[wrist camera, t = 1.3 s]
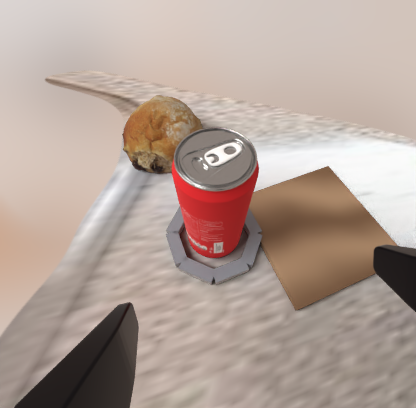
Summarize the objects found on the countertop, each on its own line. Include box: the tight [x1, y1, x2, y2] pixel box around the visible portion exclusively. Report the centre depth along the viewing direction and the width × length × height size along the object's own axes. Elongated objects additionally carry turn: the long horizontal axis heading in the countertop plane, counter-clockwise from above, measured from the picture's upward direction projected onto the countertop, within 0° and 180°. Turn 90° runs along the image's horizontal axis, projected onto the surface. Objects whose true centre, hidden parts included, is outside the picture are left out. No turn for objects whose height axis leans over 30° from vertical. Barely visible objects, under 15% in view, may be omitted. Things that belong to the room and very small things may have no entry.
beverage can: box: [172, 127, 259, 258], centre depth 18 cm, size 5×5×12 cm
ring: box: [166, 207, 263, 285], centre depth 22 cm, size 9×9×1 cm
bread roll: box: [122, 95, 203, 173], centre depth 28 cm, size 10×10×8 cm
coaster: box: [249, 166, 397, 310], centre depth 23 cm, size 12×12×1 cm
